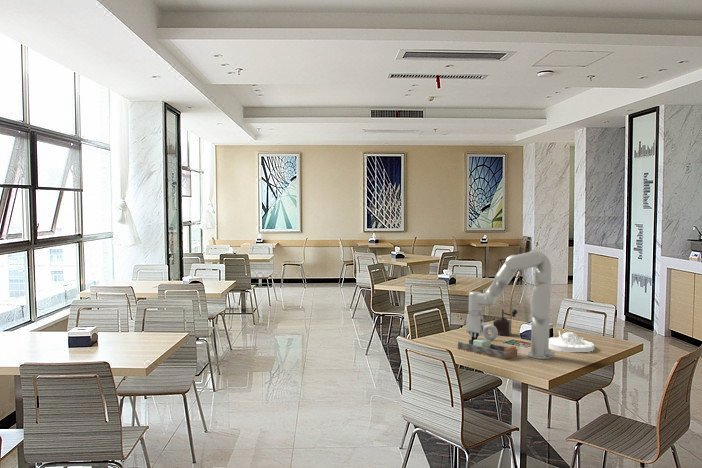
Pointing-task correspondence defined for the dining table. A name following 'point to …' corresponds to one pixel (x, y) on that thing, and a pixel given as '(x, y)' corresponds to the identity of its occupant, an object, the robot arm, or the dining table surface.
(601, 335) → the dining table surface
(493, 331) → the donut
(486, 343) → the sliding block
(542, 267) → the robot arm
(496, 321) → the brown coffee grinder
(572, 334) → the cake
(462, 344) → the track
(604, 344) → the dining table surface
